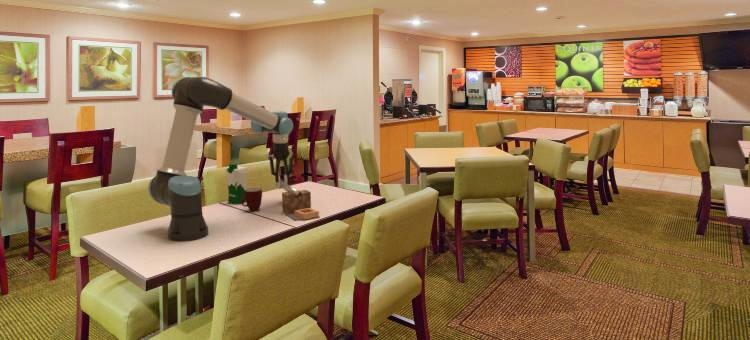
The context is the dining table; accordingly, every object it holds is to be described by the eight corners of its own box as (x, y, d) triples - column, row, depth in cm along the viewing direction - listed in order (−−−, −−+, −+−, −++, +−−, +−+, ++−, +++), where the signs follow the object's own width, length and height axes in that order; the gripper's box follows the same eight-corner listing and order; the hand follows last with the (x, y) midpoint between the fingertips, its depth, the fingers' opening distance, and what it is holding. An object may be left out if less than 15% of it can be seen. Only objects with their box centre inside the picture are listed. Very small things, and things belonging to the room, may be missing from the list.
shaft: (301, 198, 223) (301, 188, 222) (292, 199, 221) (292, 189, 220) (284, 187, 246) (284, 179, 245) (276, 188, 243) (275, 180, 243)
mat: (294, 220, 209) (294, 220, 209) (286, 215, 219) (286, 214, 219) (319, 217, 215) (319, 216, 215) (311, 211, 224) (311, 210, 224)
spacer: (294, 215, 216) (303, 219, 210) (294, 210, 215) (303, 214, 209) (309, 212, 221) (318, 216, 214) (309, 207, 220) (318, 211, 214)
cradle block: (286, 215, 219) (286, 195, 217) (282, 212, 224) (282, 192, 222) (311, 211, 224) (310, 192, 223) (306, 208, 229) (306, 189, 228)
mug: (247, 214, 220) (246, 193, 219) (237, 211, 226) (236, 190, 224) (266, 209, 228) (265, 189, 226) (256, 206, 233) (255, 187, 232)
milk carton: (225, 202, 242) (223, 164, 238) (239, 199, 249) (237, 161, 246) (237, 205, 237) (235, 165, 234) (251, 201, 245) (249, 163, 241)
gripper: (267, 144, 230) (269, 191, 234) (298, 142, 238) (299, 187, 242) (262, 142, 237) (264, 188, 241) (293, 140, 244) (295, 185, 248)
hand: (282, 187), depth 241 cm, fingers closed on shaft, 3 cm apart
